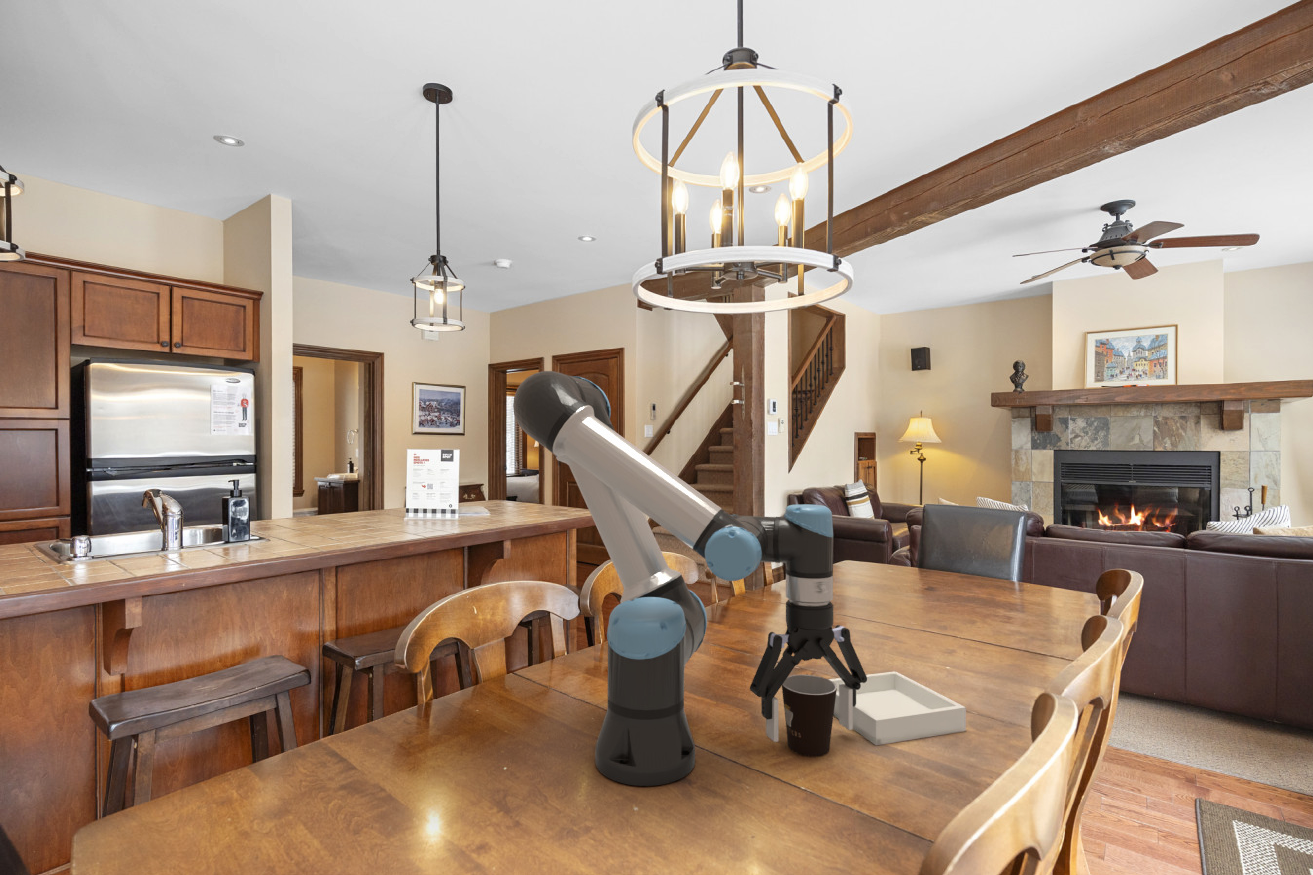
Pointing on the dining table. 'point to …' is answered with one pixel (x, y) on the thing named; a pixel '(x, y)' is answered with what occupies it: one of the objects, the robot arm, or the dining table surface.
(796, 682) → the coffee mug
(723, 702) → the dining table surface
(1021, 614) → the dining table surface
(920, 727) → the white tray
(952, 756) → the dining table surface
